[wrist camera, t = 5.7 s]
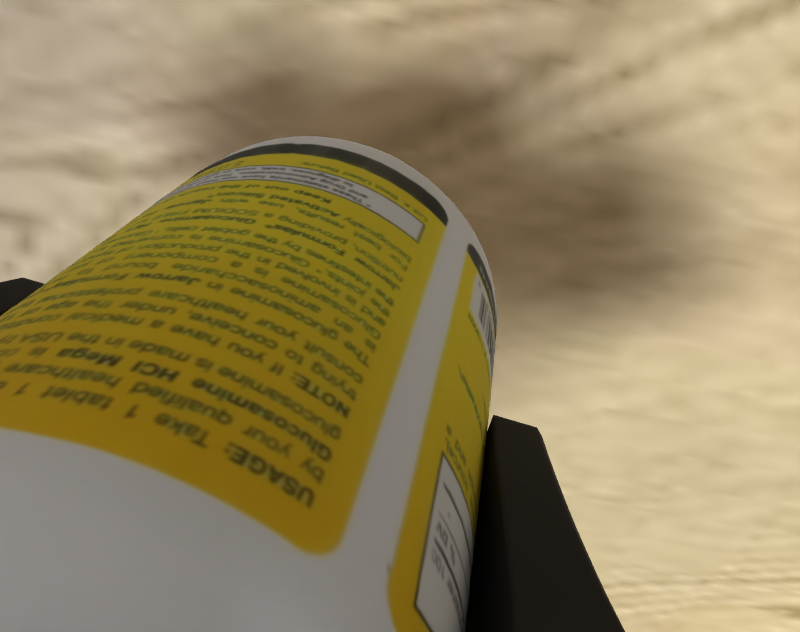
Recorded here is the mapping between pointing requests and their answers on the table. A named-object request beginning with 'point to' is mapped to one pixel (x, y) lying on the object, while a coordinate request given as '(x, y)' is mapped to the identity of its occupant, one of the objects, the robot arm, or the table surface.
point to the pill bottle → (253, 408)
